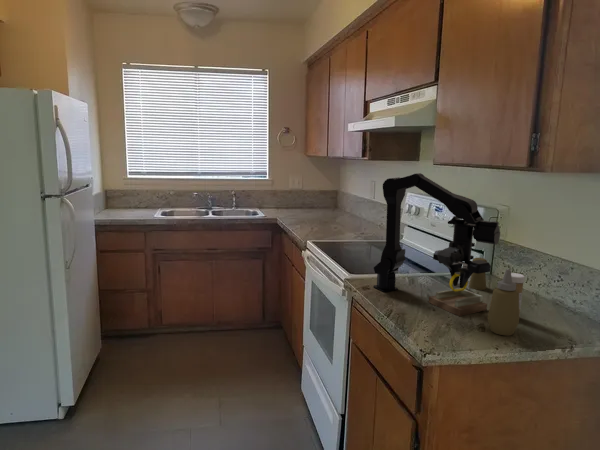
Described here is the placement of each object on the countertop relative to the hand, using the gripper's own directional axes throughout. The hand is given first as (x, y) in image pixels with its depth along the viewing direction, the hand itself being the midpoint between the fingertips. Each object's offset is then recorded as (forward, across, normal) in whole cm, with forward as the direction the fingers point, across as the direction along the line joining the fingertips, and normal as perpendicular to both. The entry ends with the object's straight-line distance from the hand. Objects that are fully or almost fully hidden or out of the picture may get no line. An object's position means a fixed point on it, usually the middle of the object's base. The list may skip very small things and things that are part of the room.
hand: (458, 286), depth 143 cm
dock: (+6, 0, 0) cm, 7 cm away
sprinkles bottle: (+7, +14, +8) cm, 18 cm away
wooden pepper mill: (+7, -11, +22) cm, 25 cm away
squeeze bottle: (+7, +20, -4) cm, 22 cm away
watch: (+1, 0, 0) cm, 1 cm away
